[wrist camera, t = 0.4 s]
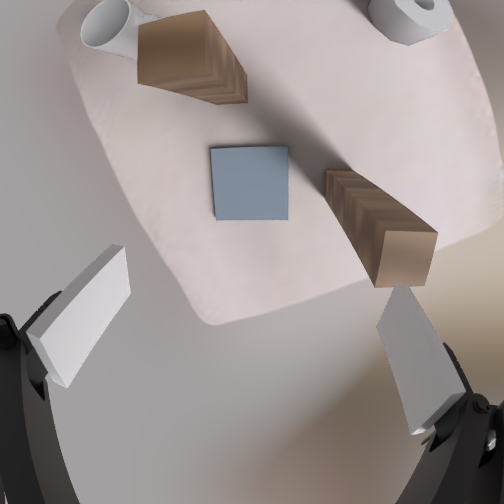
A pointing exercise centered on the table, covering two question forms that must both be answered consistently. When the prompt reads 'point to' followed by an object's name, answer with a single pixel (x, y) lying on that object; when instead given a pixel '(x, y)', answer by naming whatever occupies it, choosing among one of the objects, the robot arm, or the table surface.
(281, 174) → the mat
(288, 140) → the table surface
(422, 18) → the toilet tissue
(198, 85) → the corner post
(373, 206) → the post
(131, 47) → the mug
